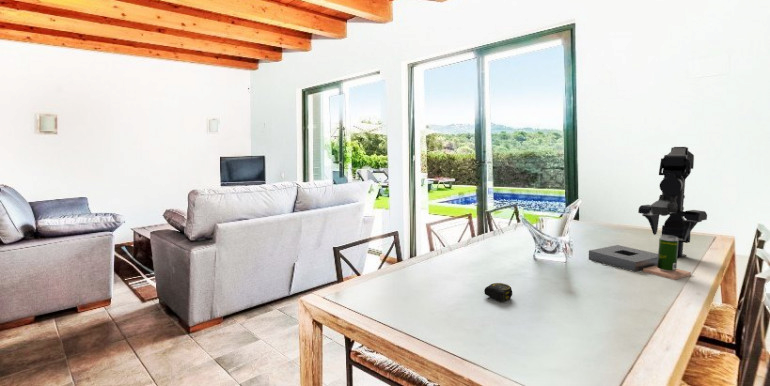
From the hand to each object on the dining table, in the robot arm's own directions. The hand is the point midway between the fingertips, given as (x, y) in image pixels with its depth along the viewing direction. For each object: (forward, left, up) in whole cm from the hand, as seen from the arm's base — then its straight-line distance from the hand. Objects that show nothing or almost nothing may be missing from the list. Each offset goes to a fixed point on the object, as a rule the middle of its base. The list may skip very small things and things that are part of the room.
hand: (669, 237), depth 135 cm
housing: (-1, -15, -13) cm, 20 cm away
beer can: (0, 0, -12) cm, 12 cm away
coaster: (0, 0, -13) cm, 13 cm away
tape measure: (+67, -10, -13) cm, 69 cm away
